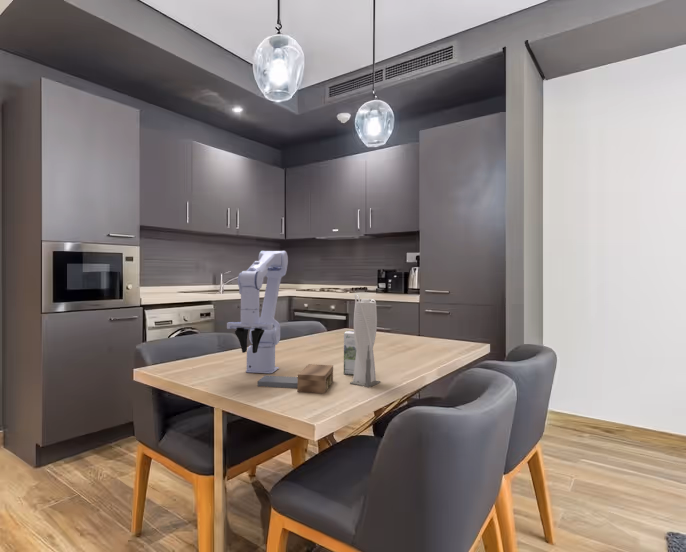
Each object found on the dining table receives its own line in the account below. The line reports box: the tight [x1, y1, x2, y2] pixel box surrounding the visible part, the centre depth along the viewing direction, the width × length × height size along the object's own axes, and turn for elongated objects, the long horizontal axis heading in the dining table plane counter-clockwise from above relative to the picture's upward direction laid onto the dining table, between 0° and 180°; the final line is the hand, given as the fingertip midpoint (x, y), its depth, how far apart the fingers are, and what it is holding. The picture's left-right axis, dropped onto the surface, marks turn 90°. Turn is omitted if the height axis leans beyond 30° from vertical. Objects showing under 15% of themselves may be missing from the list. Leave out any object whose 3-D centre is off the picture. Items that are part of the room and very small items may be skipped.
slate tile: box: [257, 375, 298, 389], centre depth 126 cm, size 13×7×2 cm, turn 83°
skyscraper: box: [349, 293, 381, 388], centre depth 129 cm, size 8×8×28 cm
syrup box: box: [343, 330, 357, 376], centre depth 140 cm, size 6×6×14 cm
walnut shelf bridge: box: [296, 363, 334, 394], centre depth 124 cm, size 8×14×5 cm, turn 171°
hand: (249, 352), depth 128 cm, fingers open, 3 cm apart
